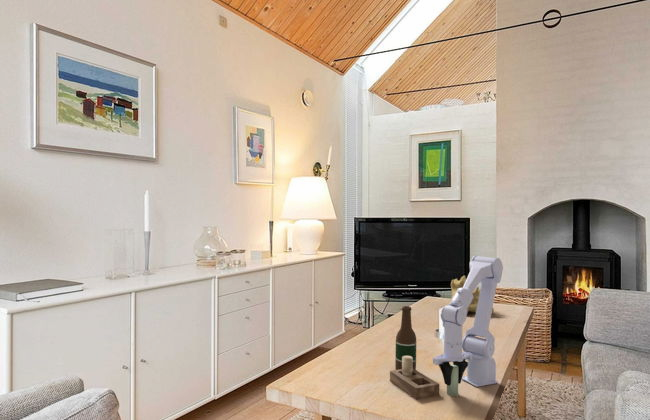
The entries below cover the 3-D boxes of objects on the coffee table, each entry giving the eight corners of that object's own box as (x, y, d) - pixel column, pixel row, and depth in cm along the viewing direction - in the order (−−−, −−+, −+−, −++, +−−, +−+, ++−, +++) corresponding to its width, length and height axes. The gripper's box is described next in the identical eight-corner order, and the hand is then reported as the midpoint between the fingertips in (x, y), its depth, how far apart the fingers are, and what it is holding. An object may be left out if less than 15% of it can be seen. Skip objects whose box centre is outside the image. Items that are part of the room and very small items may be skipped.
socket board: (411, 377, 161) (411, 367, 161) (439, 394, 146) (439, 384, 146) (389, 380, 157) (389, 370, 157) (416, 399, 143) (416, 388, 143)
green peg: (453, 390, 150) (453, 364, 149) (460, 395, 146) (460, 367, 146) (444, 392, 148) (444, 365, 148) (451, 396, 145) (451, 369, 145)
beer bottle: (413, 367, 171) (414, 304, 171) (418, 374, 163) (419, 309, 163) (393, 367, 171) (394, 304, 171) (397, 374, 163) (398, 309, 163)
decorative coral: (432, 288, 273) (466, 263, 269) (452, 313, 277) (486, 289, 274) (444, 307, 248) (481, 280, 245) (466, 334, 252) (503, 309, 249)
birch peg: (408, 380, 158) (408, 355, 158) (414, 384, 155) (414, 358, 155) (399, 382, 157) (400, 356, 156) (405, 385, 153) (405, 359, 153)
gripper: (442, 348, 140) (442, 391, 141) (479, 343, 146) (478, 384, 146) (429, 342, 147) (428, 383, 147) (464, 337, 153) (463, 377, 153)
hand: (452, 383), depth 147 cm, fingers closed on green peg, 4 cm apart
